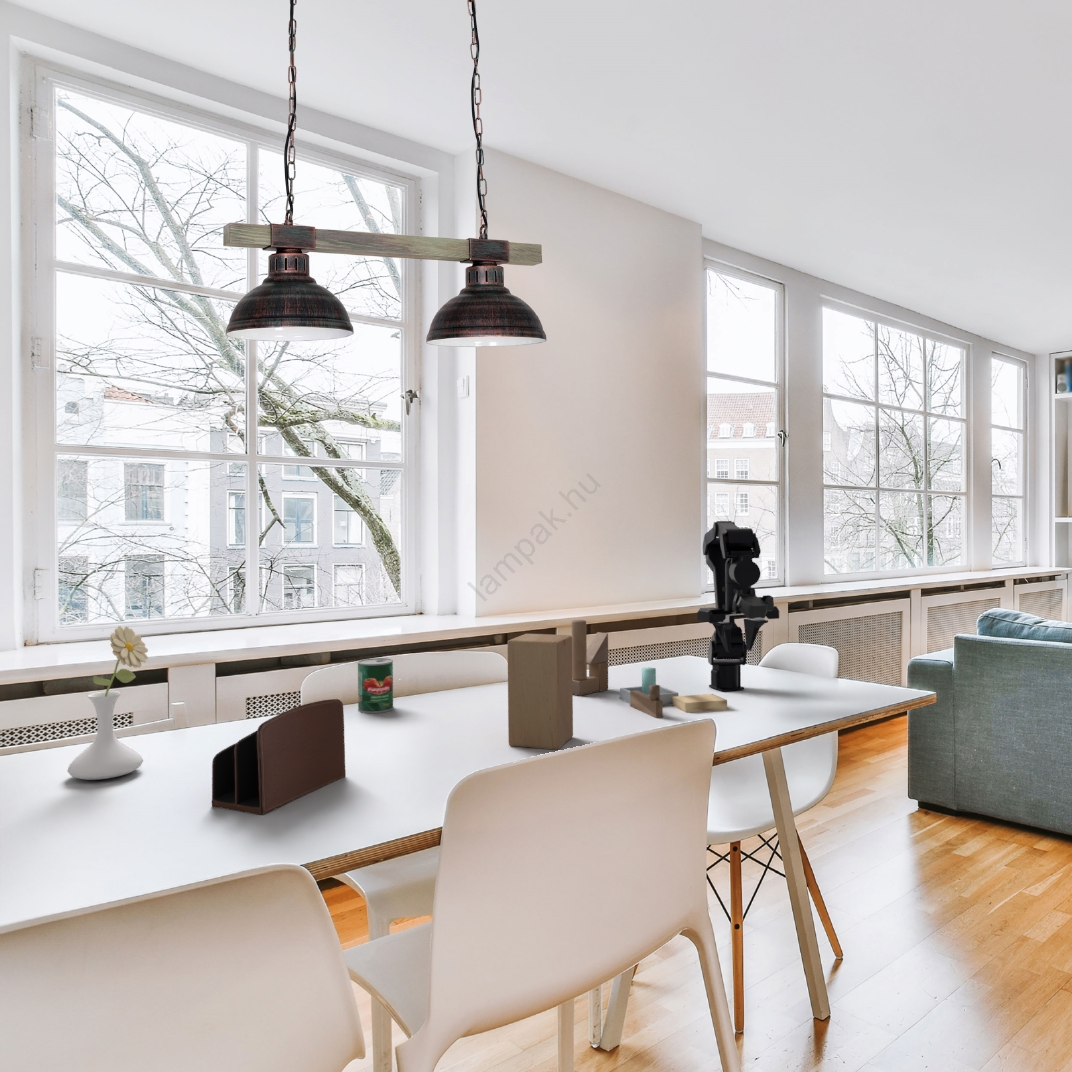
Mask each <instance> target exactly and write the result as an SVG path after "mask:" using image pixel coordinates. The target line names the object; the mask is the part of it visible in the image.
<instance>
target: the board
mask: <svg viewBox="0 0 1072 1072" xmlns="http://www.w3.org/2000/svg"><path fill="white" fill-rule="evenodd" d="M672 706H673V707H674V708H677V709H679V711H682V712H684V713H695V712H710V711H724V710H728V700H727V699H725V698H724V697H721V696H718V695H717V694H714V693H707V694H693V695H692V694H690V695H678V696H674V697H673V704H672Z"/></svg>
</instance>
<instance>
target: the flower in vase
mask: <svg viewBox="0 0 1072 1072" xmlns="http://www.w3.org/2000/svg"><path fill="white" fill-rule="evenodd" d="M109 641H110V642H111V643H110V647H111V648H112V654H113V655H114V656H116V659H117V661H116V664H115V668H114V671H113V673H112V676H111V678H110V679H107V678H101V677H99V676H97V675H93V676H92V682H93V683H94V684H95V685H100V686H107V688H106V691H99V692H98V691H97V692H93V693H89V694H88V695H87V697H88V699H89V700H90V701H91V702H92V703H93V706H94V709H95V713H96V717H97V719H96V720H97V734H96V737H95V739H94V741H93V742H92V743H91V744H90V745H89V746H88V747H86V748H85V749H84V750H83V751H82V752H80V753H79V754H78V755H77V756H76V757H75V758H74V759H73V760H72V761H71V763H69V766H68V767H67V770H66V771H67V773H68V774H69V776H70V777H72V778H75V779H81V780H85V781H87V780H88V781H89V780H90V781H92V780H94V781H96V780H106V779H111V778H112V779H113V778H116V777H117V778H118V777H121V776H124V775H127V774H130V773H132V772H135V771H136V770H137V769H139V768H141V766H142V764H143V762H144V759H143V757H142V755H141V754H140V753H139V752H138V751H137V750H135V749H134V748H133V747H130V746H129V745H127V744H125V743H124V742H122V740H121V741H120V740H119V739H118V738H117V736H116V735H115V733H114V726H113V721H114V720H113V718H114V710H115V705H116V702H117V700H118V699H119V697H120V696H121V695H122V692H121V691H117V690H111V691H110V688H111V686H112V684H113V681H114V679H115V677H116V679H117V680H119V681H120V682H121V683H124V684H127V683H130V682H132V681H133V680H134V679H136V675H135V673H134V672H133V671H131V670H129V669H127V668H120V669H119V670H117V669H118V667H119V664H120V663H121V664H122V665H123V666H128V667H129V668H131V667H132V668H135V669H136V668H141V667H142V663H147V660H148V657H149V656H148V655H147V654H146V653H148V651H149V649H148V648H147V647H146V643H145V642H144V641H143V640H142V636H141V635H140V634H136V633H135V631H134V630H133V629H132V628H129V626H127V625H126V626H124V628H123V627H122V626H121V625H118V626H117V628H115V629H114V632H111V634H110V637H109Z"/></svg>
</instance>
